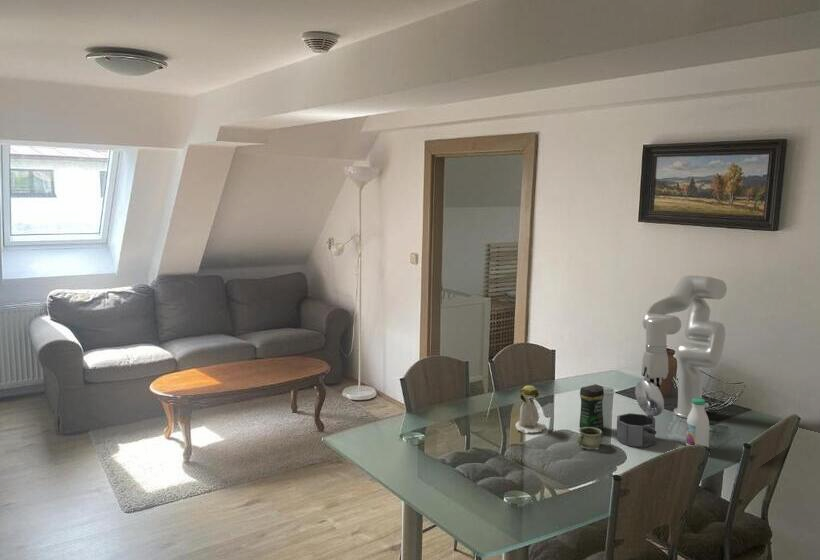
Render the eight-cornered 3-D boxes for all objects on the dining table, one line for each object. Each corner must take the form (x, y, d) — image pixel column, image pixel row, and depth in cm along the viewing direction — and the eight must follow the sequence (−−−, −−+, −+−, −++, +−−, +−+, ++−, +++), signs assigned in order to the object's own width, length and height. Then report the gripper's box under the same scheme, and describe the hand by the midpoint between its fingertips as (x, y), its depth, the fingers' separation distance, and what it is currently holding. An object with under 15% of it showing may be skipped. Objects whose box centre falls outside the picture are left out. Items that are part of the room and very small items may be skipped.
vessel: (585, 453, 236) (585, 437, 236) (570, 444, 245) (570, 429, 244) (610, 447, 241) (610, 431, 240) (595, 439, 249) (595, 424, 248)
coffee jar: (590, 434, 254) (590, 390, 252) (576, 428, 261) (576, 385, 259) (607, 429, 259) (607, 385, 257) (592, 423, 266) (592, 381, 264)
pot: (634, 428, 258) (634, 409, 257) (670, 445, 240) (670, 424, 239) (604, 435, 253) (605, 415, 252) (640, 452, 235) (640, 431, 234)
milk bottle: (707, 447, 237) (708, 396, 235) (709, 455, 230) (711, 403, 227) (685, 445, 240) (686, 395, 237) (687, 453, 232) (688, 401, 230)
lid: (636, 411, 254) (640, 409, 255) (663, 422, 241) (667, 420, 242) (633, 376, 252) (637, 375, 253) (660, 385, 239) (664, 384, 239)
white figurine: (511, 432, 260) (511, 389, 257) (520, 421, 271) (519, 381, 269) (540, 435, 255) (539, 392, 252) (547, 425, 266) (547, 383, 264)
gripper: (663, 345, 252) (662, 389, 254) (634, 349, 246) (633, 394, 248) (677, 348, 245) (676, 394, 247) (648, 353, 239) (647, 399, 241)
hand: (655, 394), depth 248 cm, fingers closed
